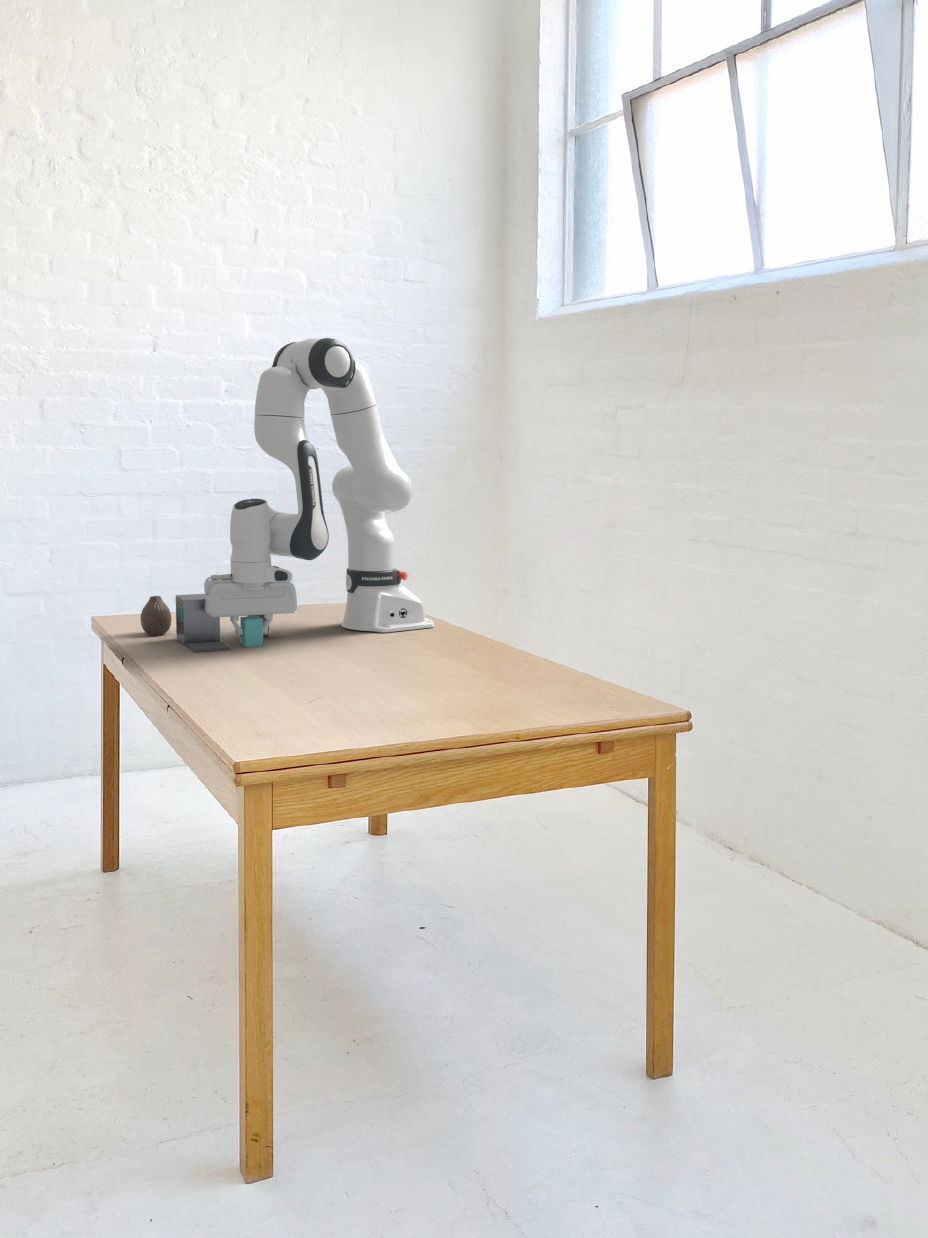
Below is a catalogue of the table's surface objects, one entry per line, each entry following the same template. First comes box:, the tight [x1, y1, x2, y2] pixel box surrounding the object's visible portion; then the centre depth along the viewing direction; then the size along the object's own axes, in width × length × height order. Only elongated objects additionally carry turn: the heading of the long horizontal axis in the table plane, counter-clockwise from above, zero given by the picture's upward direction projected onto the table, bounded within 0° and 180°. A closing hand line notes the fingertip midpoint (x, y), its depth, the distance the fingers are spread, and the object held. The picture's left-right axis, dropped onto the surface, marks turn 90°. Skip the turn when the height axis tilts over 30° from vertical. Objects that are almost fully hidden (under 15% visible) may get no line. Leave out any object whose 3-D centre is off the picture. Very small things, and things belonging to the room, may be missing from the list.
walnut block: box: [246, 615, 270, 639], centre depth 275 cm, size 4×4×6 cm
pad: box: [186, 640, 232, 653], centre depth 261 cm, size 8×7×1 cm
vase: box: [140, 595, 172, 636], centre depth 276 cm, size 7×7×9 cm
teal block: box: [239, 616, 264, 648], centre depth 265 cm, size 4×4×6 cm
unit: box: [175, 593, 221, 646], centre depth 268 cm, size 8×8×10 cm
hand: (251, 635), depth 266 cm, fingers closed on teal block, 4 cm apart
